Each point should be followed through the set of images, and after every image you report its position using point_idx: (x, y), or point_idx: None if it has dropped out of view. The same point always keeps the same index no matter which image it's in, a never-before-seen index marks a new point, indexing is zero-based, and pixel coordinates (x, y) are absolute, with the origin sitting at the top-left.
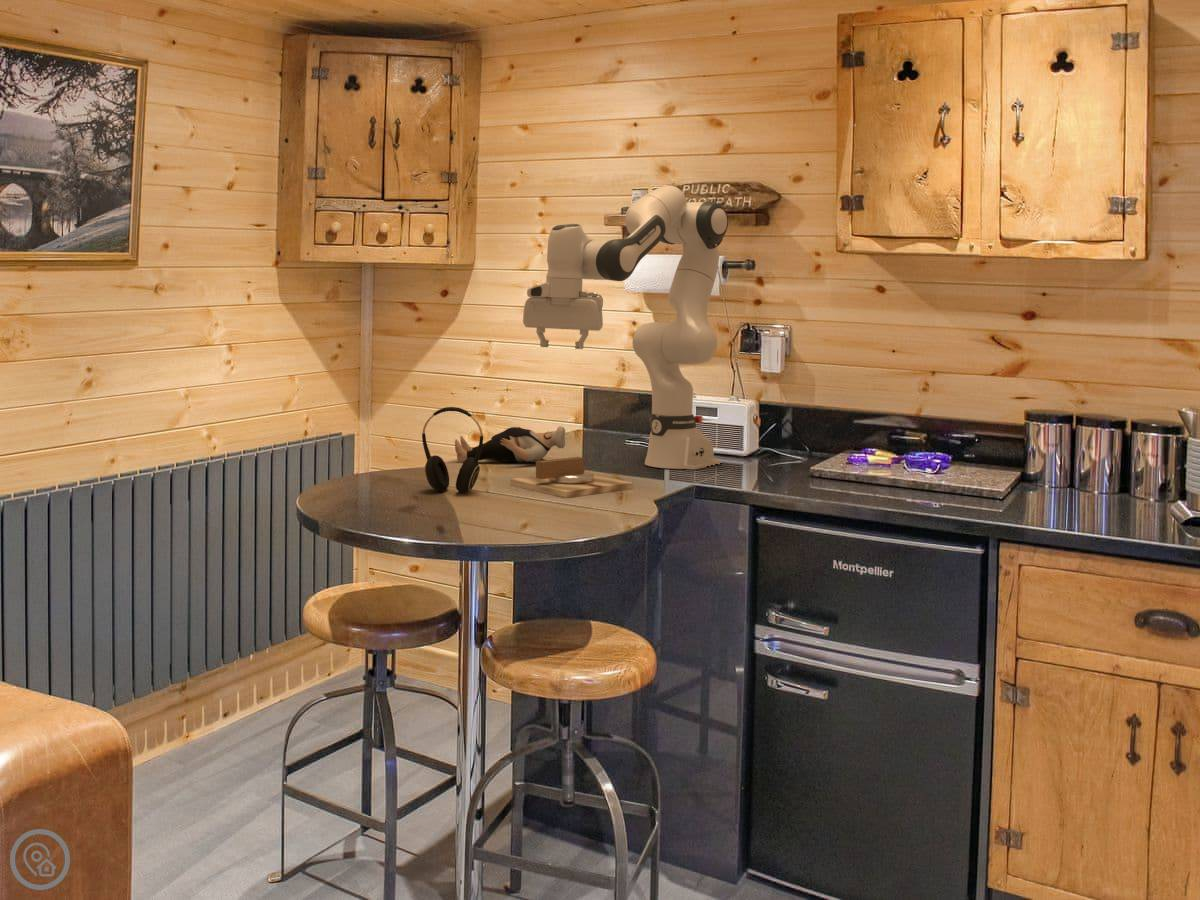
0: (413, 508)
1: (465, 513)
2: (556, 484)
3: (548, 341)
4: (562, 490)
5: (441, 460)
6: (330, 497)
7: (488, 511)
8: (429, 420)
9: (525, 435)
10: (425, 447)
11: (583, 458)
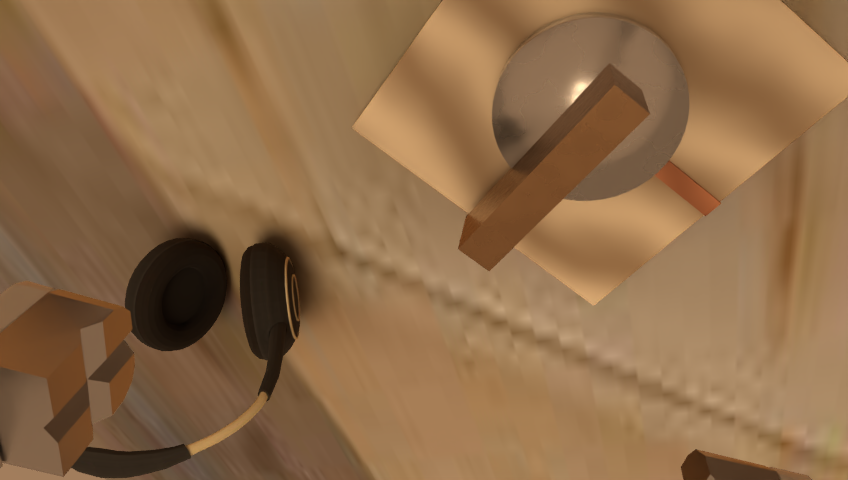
0: (267, 445)
1: (391, 474)
2: None
3: (65, 363)
4: (581, 291)
5: (157, 300)
6: None
7: (432, 455)
8: None
9: None
10: None
11: (646, 116)
